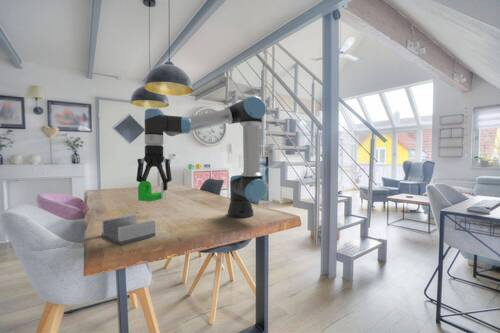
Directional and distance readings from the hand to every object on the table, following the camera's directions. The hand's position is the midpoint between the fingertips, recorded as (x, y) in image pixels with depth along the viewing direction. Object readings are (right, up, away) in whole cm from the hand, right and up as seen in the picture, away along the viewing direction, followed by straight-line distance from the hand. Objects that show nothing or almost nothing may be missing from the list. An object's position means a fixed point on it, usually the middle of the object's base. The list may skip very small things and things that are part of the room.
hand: (154, 197), depth 104 cm
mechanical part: (0, -1, 0) cm, 1 cm away
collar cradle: (-10, -16, -2) cm, 19 cm away
